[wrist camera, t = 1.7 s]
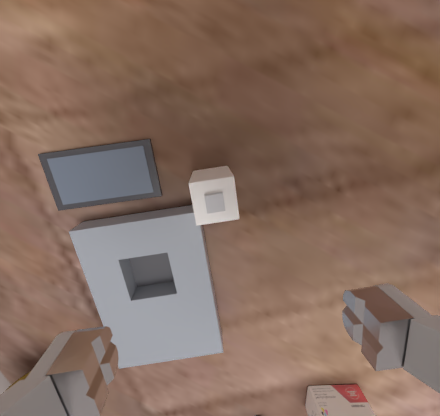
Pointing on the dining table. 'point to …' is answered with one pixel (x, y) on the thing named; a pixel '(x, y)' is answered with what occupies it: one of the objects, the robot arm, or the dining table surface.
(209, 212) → the block
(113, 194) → the phone slab
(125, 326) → the outlet board
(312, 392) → the ink cartridge box
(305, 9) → the dining table surface
